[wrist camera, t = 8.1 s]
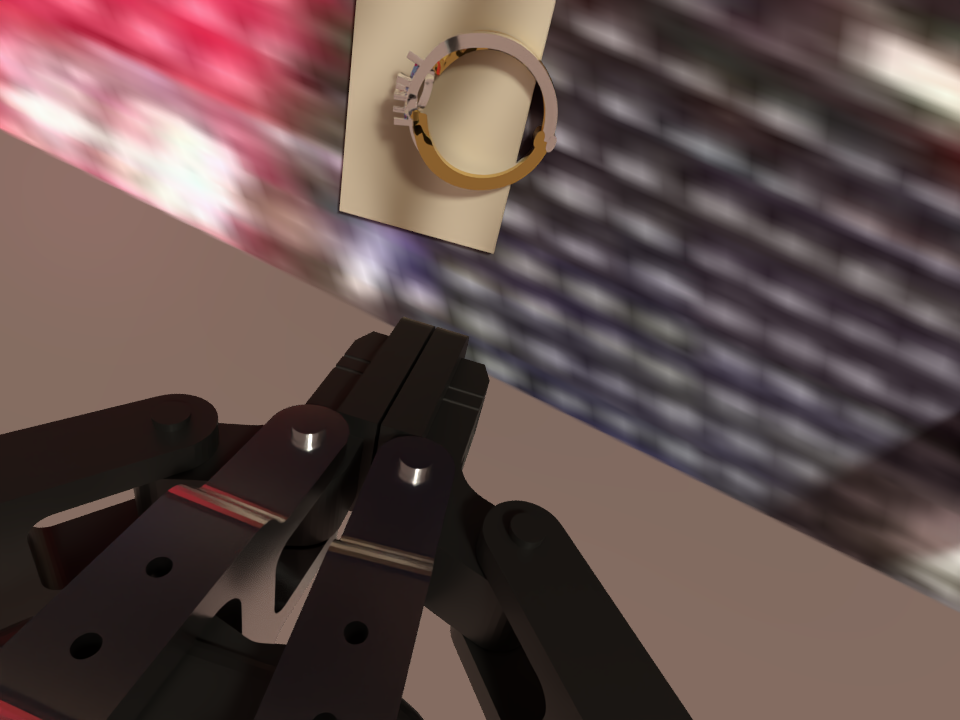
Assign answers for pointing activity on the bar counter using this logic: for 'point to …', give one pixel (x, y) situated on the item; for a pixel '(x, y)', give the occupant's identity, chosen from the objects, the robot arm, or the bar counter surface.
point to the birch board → (437, 114)
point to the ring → (410, 89)
